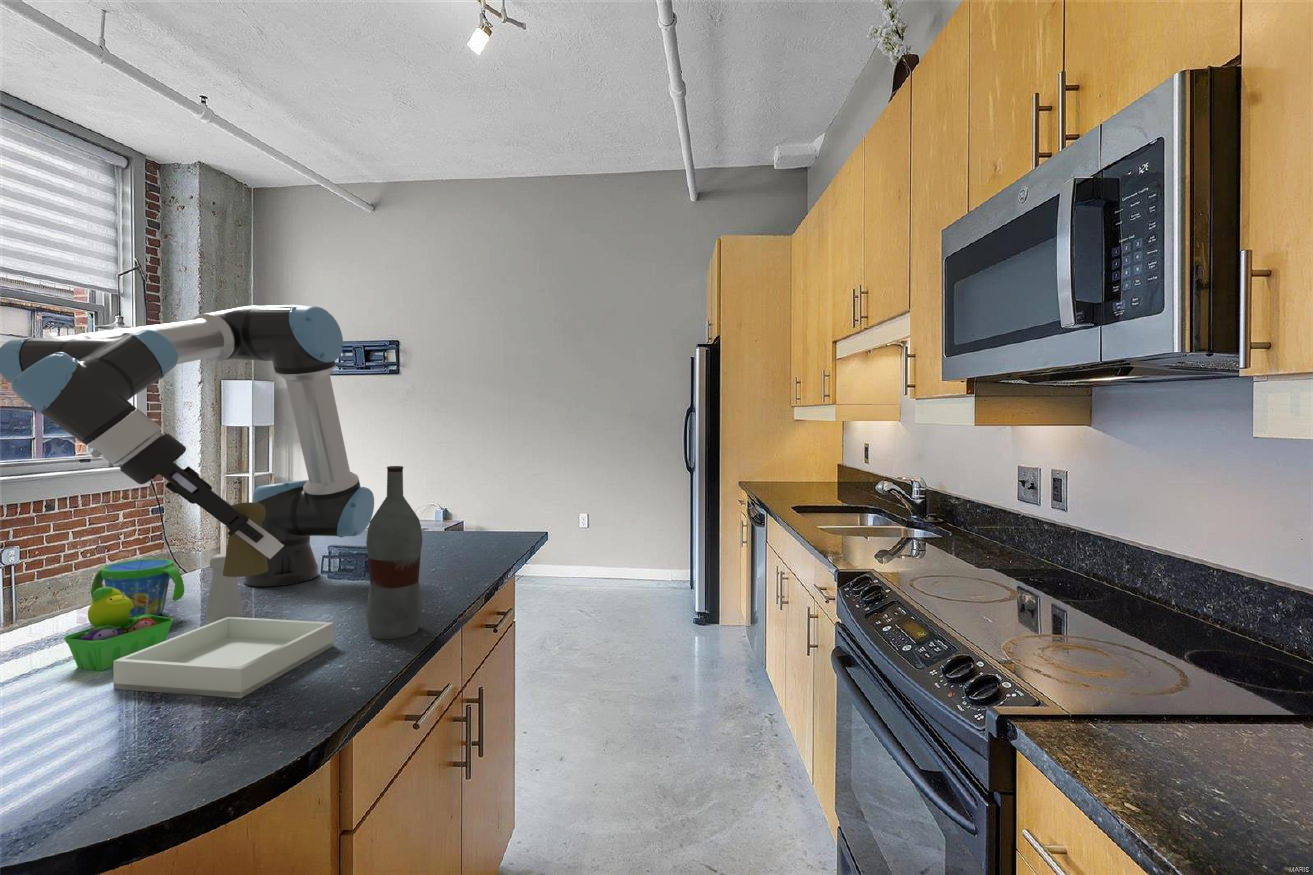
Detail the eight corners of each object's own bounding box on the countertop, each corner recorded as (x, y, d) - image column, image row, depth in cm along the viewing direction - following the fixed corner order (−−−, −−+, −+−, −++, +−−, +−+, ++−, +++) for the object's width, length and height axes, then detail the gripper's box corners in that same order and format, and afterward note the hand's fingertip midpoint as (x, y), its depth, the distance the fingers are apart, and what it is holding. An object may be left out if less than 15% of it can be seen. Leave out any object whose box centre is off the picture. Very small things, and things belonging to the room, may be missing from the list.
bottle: (365, 643, 104) (366, 468, 103) (366, 627, 112) (366, 465, 111) (424, 636, 108) (424, 467, 107) (420, 620, 116) (421, 464, 115)
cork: (233, 578, 92) (234, 506, 91) (215, 573, 95) (215, 503, 95) (276, 571, 97) (276, 502, 97) (257, 566, 100) (257, 499, 100)
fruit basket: (95, 676, 89) (95, 600, 89) (55, 668, 92) (54, 594, 92) (176, 649, 100) (176, 581, 100) (138, 643, 103) (138, 576, 102)
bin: (227, 639, 105) (227, 616, 104) (333, 646, 102) (333, 622, 102) (113, 688, 85) (113, 660, 85) (240, 698, 83) (240, 669, 83)
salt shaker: (250, 619, 115) (250, 551, 115) (226, 629, 109) (226, 558, 109) (222, 618, 116) (222, 550, 115) (196, 628, 110) (196, 557, 110)
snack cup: (199, 610, 121) (199, 559, 120) (152, 627, 110) (152, 572, 110) (126, 607, 122) (125, 557, 121) (72, 624, 111) (71, 569, 111)
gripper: (118, 464, 92) (246, 557, 103) (113, 471, 79) (262, 578, 89) (163, 429, 96) (282, 524, 107) (166, 431, 82) (303, 539, 93)
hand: (273, 548), depth 98 cm, fingers closed on cork, 5 cm apart
